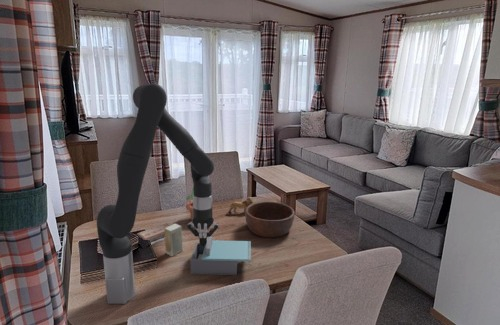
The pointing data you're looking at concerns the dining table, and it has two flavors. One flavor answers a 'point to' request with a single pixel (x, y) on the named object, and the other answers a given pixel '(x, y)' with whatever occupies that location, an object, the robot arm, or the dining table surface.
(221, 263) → the mailer box
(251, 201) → the lion figurine
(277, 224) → the wooden bowl
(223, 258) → the lid
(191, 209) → the decorative flower
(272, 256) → the dining table surface
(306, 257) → the dining table surface
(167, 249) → the skincare box
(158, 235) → the packaged product
